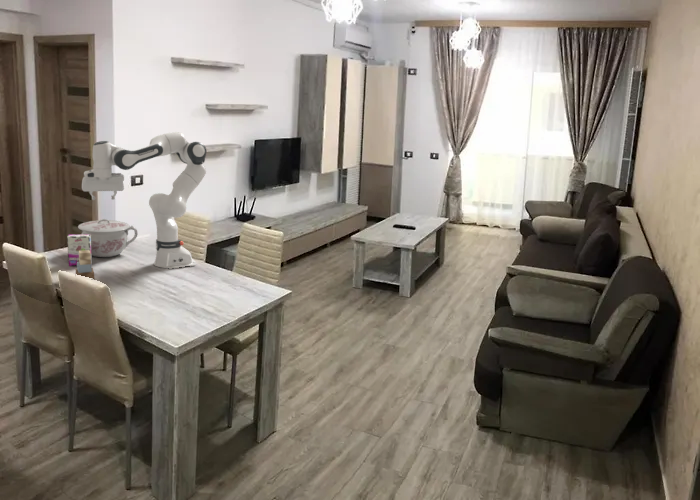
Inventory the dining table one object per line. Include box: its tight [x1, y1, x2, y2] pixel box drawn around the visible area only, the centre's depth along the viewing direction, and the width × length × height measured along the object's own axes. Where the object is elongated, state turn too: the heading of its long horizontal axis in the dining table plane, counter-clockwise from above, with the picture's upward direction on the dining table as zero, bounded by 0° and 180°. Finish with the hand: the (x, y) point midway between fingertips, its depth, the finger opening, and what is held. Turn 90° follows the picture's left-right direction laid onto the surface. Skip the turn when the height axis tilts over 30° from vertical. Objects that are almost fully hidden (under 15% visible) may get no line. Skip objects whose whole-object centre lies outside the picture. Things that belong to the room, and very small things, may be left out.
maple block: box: [79, 250, 91, 265], centre depth 305 cm, size 5×5×6 cm
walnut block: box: [74, 267, 95, 280], centre depth 308 cm, size 8×8×4 cm
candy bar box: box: [66, 234, 93, 267], centre depth 325 cm, size 11×5×16 cm, turn 105°
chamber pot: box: [77, 218, 138, 258], centre depth 346 cm, size 28×28×21 cm
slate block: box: [76, 262, 93, 273], centre depth 307 cm, size 6×6×4 cm
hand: (103, 199), depth 317 cm, fingers open, 8 cm apart
